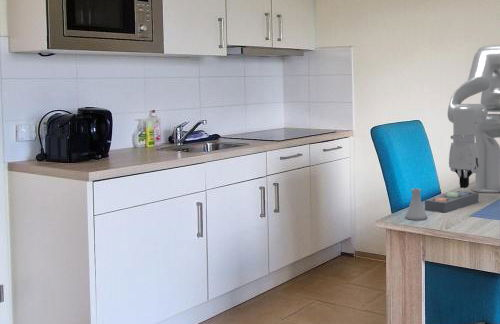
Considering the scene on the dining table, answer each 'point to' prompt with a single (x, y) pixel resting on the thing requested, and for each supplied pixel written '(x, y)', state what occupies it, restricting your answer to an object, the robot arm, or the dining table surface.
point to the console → (451, 202)
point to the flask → (416, 207)
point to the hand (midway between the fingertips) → (464, 187)
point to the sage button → (452, 194)
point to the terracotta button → (440, 199)
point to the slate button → (463, 193)
